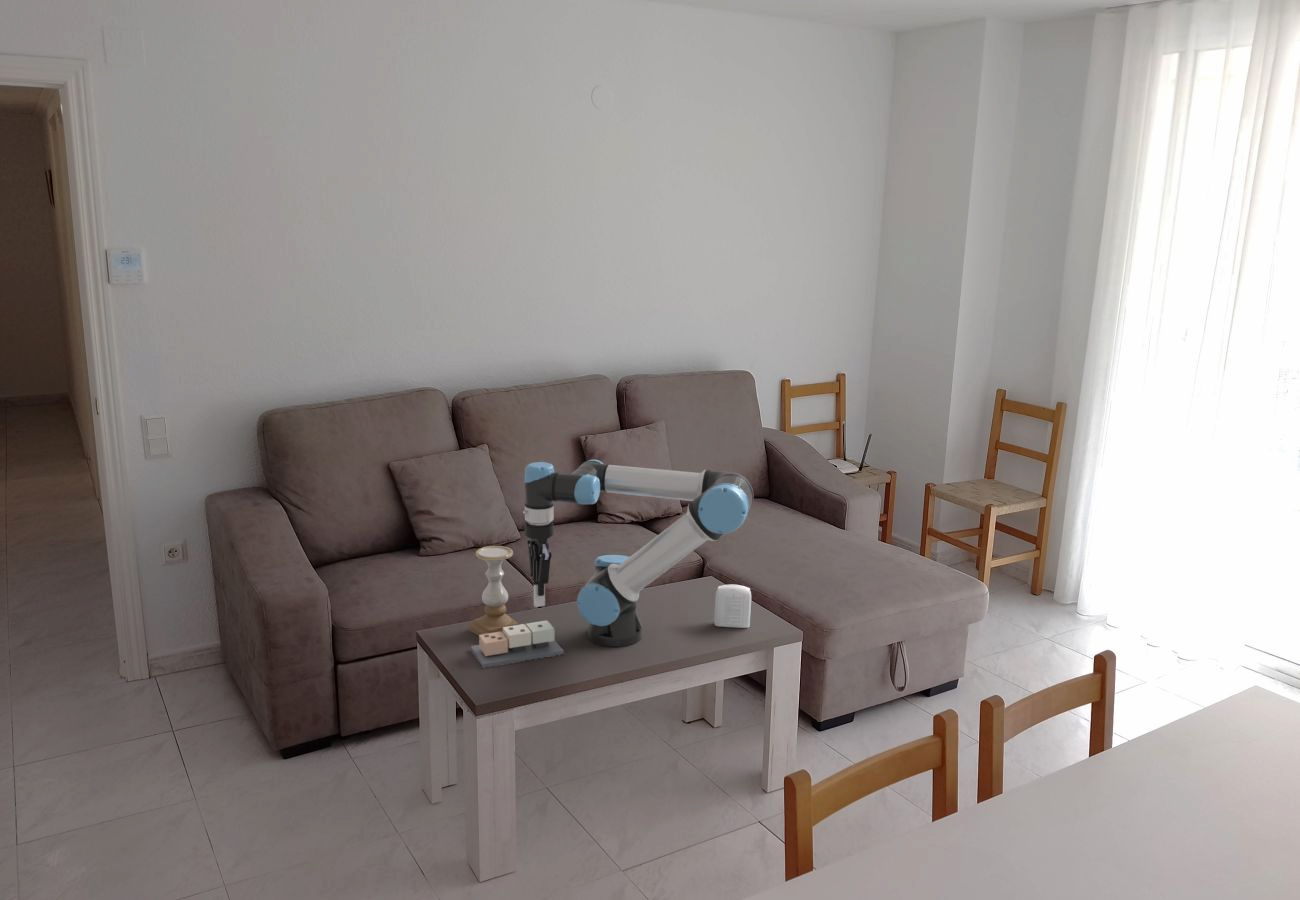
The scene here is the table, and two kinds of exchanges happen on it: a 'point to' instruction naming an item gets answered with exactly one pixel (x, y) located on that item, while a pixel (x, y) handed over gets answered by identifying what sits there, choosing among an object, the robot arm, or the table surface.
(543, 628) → the one pip key
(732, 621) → the photo printer
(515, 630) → the two pip key
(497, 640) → the three pip key
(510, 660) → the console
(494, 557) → the candle holder
